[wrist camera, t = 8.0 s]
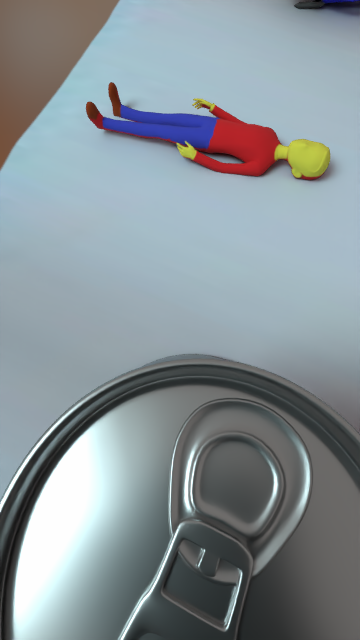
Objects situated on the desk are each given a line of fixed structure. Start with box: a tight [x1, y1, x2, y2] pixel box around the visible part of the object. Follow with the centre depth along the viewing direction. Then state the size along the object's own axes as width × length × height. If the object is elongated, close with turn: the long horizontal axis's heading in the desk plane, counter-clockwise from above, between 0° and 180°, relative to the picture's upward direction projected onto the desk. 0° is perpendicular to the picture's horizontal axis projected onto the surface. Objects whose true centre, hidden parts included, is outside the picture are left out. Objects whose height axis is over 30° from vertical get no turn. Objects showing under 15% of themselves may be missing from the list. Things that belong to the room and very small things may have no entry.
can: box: [0, 358, 360, 640], centre depth 9 cm, size 6×6×12 cm
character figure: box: [86, 82, 330, 180], centre depth 25 cm, size 6×4×20 cm
